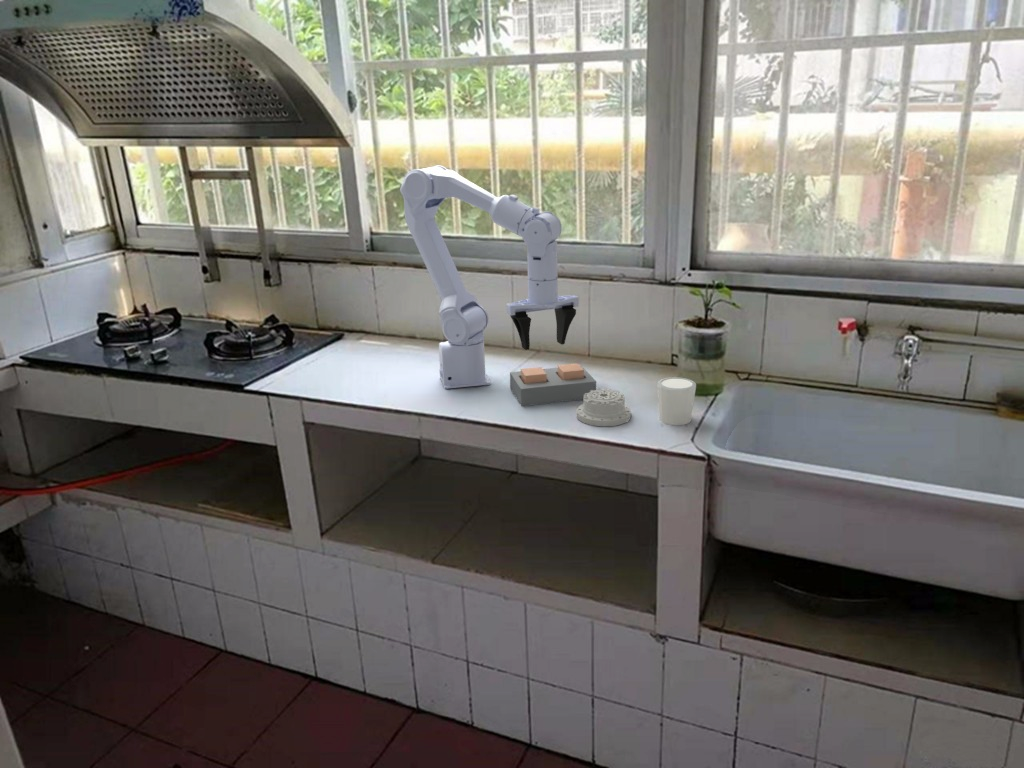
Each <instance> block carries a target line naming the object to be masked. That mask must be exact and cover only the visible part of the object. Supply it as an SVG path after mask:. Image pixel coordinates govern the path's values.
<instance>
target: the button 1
mask: <svg viewBox="0 0 1024 768" xmlns="http://www.w3.org/2000/svg"><path fill="white" fill-rule="evenodd" d="M543 369H544V368H543V367H541V366H539V367H537V366H536V367H527V368H520V371H521V380H522V382H523V383H524V384H529V383H539V382H547V378H546V373H545V371H544V370H543Z"/></svg>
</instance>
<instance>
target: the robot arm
mask: <svg viewBox="0 0 1024 768" xmlns="http://www.w3.org/2000/svg"><path fill="white" fill-rule="evenodd" d="M399 191H400V193H401V196H402V197H403V208H404V209H403V210H404V221H405V223H406V226H407V228H408V231H409V232H410V235H411V236H412V239H413V241H414V243H415V245H416V247H417V250H418V252H419V255H420V257H421V258H422V261H423V263H424V265H425V267H426V270H427V272H428V274H429V276H430V278H431V281H432V283H433V285H434V287H435V289H436V292H437V294H438V295H439V299H440V301H441V302H440V306H439V310H438V315H439V317H440V320H441V329H442V330H441V331H442V334H443V335H444V337H445V338H446V339H447V340H446V341H441V342H439V343H438V356H439V360H438V361H439V376H440V380H441V382H442V384H443V388H444V389H446V390H447V389H448V390H449V389H457V388H458V389H459V388H467V387H468V388H470V387H479V386H486V385H491V381H490V379H489V378H488V377H489V376H488V375H487V374H486V359H485V357H486V356H485V355H486V354H485V336H484V334H485V333H484V332H485V330H486V329H487V328H488V326H489V322H490V321H489V315H488V312H487V310H486V309H485V307H484V306H482V305H481V303H480V302H479V301H478V300H477V297H476V295H474V294H473V293H471V292H469V291H468V290H467V289H466V287H465V284H464V283H463V281H462V278H461V276H460V274H459V271H458V269H457V266H456V264H455V263H454V260H453V258H452V256H451V253H450V251H449V248H448V247H447V244H446V242H445V240H444V238H443V236H442V234H441V231H440V228H439V227H438V225H437V222H436V220H435V217H436V215H437V213H438V211H439V207H440V206H441V204H442V203H443V202H444V201H445V199H446V198H455V199H456V200H457V199H458V200H459V201H461V202H465V203H466V204H469V205H471V206H474V207H475V208H478V209H480V210H482V211H484V212H487V213H489V214H490V216H489V217H490V218H491V221H492V222H493V223H495V224H496V225H498V226H500V227H501V228H503V229H505V230H507V231H509V232H512V233H513V234H515V235H518V236H519V237H522V240H523V242H524V243H525V245H526V248H527V253H526V254H527V257H526V258H527V259H526V261H527V298H526V299H523V300H518V301H514V302H510V303H509V302H508V303H506V304H505V305H506V306H505V307H506V314H507V315H509V317H510V319H511V320H512V322H513V324H514V326H515V328H516V330H517V332H518V335H519V340H520V343H521V348H522V349H524V350H525V351H527V350H528V351H529V350H530V346H531V344H530V340H531V339H530V331H531V330H530V328H531V323H532V318H531V317H529V315H528V314H527V313H532V312H539V311H547V310H554V314H555V321H556V322H555V323H556V342H557V343H558V344H560V345H565V344H566V339H567V336H568V331H569V329H570V325H571V324H572V322H573V320H574V318H575V317H576V315H577V309H576V308H577V307H579V302H580V301H579V299H580V298H579V296H577V295H574V294H572V295H571V294H570V295H558V293H559V292H558V290H559V288H558V287H559V286H558V285H559V284H558V281H559V280H558V239H559V237H560V236H561V234H562V230H563V229H562V228H563V227H562V223H561V221H560V219H559V217H557V215H556V214H554V213H553V212H552V211H542V212H540V208H539V207H537V206H534V207H531V206H529V205H528V204H525V203H524V202H522V201H520V200H518V199H519V196H517V195H516V194H510V195H508V194H504V195H501V196H499V197H498V196H496V195H494V194H492V192H489V191H488V190H486V189H484V188H482V187H480V186H479V185H477V184H475V183H473V182H472V181H470V180H469V179H467V178H465V177H463V176H462V175H460V174H459V173H457V172H456V171H455V170H453V169H448V168H447V167H445V166H443V165H438V164H437V165H433V166H430V167H425V168H418V169H417V168H416V169H412V170H409V171H408V172H407V173H406V174H405V176H404V177H403V180H402V183H401V186H400V188H399Z"/></svg>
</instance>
